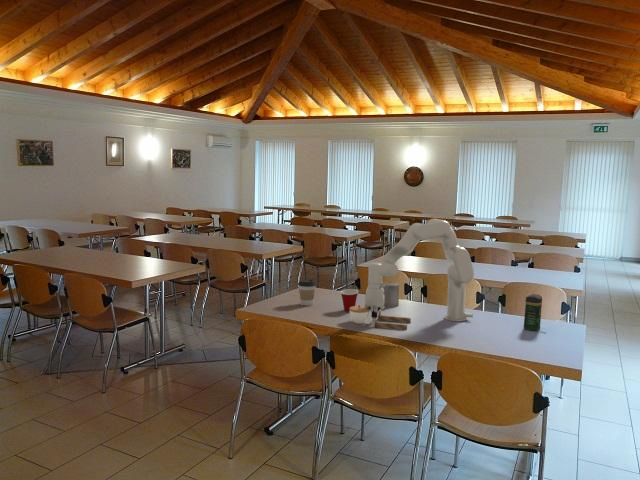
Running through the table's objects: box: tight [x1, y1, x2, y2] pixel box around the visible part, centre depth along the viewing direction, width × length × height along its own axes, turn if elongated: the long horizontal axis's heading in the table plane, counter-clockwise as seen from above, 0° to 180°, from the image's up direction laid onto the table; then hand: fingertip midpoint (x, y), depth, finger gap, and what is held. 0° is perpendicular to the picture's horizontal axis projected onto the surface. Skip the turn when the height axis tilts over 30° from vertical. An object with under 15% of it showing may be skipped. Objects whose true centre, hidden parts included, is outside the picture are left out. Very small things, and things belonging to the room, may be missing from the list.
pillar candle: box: [382, 281, 400, 308], centre depth 342 cm, size 10×10×15 cm
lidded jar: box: [349, 304, 370, 325], centre depth 303 cm, size 11×11×9 cm
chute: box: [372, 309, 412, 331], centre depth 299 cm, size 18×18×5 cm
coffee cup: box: [297, 278, 317, 306], centre depth 341 cm, size 11×11×15 cm
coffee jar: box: [523, 293, 543, 332], centre depth 294 cm, size 10×8×19 cm
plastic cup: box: [339, 288, 359, 313], centre depth 327 cm, size 11×11×12 cm
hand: (374, 318), depth 302 cm, fingers closed
